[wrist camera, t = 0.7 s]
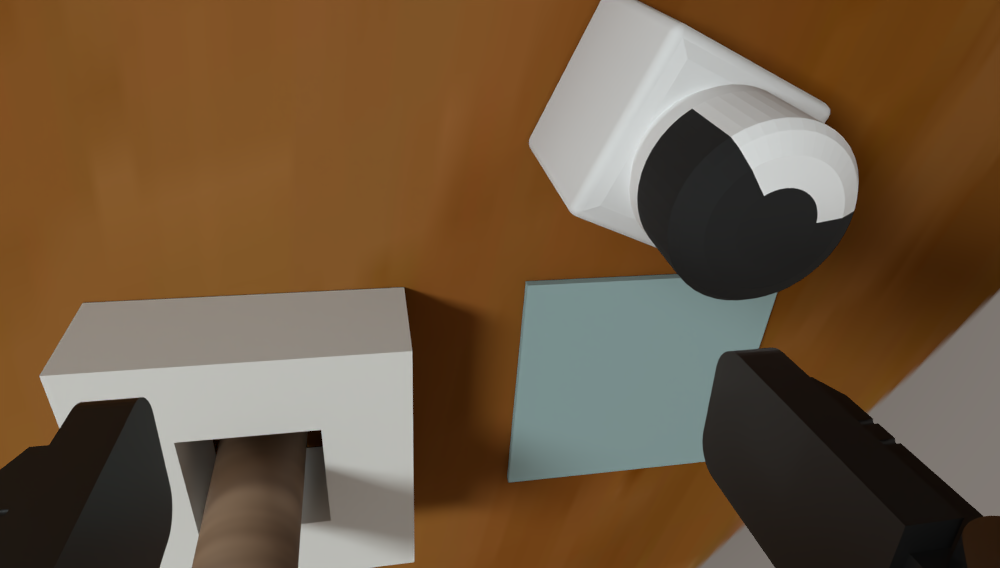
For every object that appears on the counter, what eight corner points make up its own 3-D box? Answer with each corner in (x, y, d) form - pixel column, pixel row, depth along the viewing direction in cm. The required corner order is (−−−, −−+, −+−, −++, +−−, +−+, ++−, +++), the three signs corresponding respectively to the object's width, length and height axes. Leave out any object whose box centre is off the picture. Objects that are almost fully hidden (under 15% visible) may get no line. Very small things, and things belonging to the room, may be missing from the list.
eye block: (82, 302, 29) (39, 376, 25) (403, 287, 32) (412, 351, 28) (150, 515, 37) (125, 598, 33) (407, 487, 39) (414, 561, 35)
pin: (209, 374, 33) (121, 699, 20) (315, 367, 34) (295, 672, 21) (225, 448, 35) (156, 776, 23) (322, 439, 36) (309, 749, 24)
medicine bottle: (652, 198, 32) (788, 351, 22) (523, 144, 29) (613, 290, 19) (739, 59, 29) (941, 163, 19) (606, -16, 26) (760, 61, 17)
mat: (525, 281, 33) (527, 285, 33) (779, 268, 36) (783, 272, 36) (506, 477, 41) (508, 482, 40) (718, 455, 43) (721, 459, 43)
